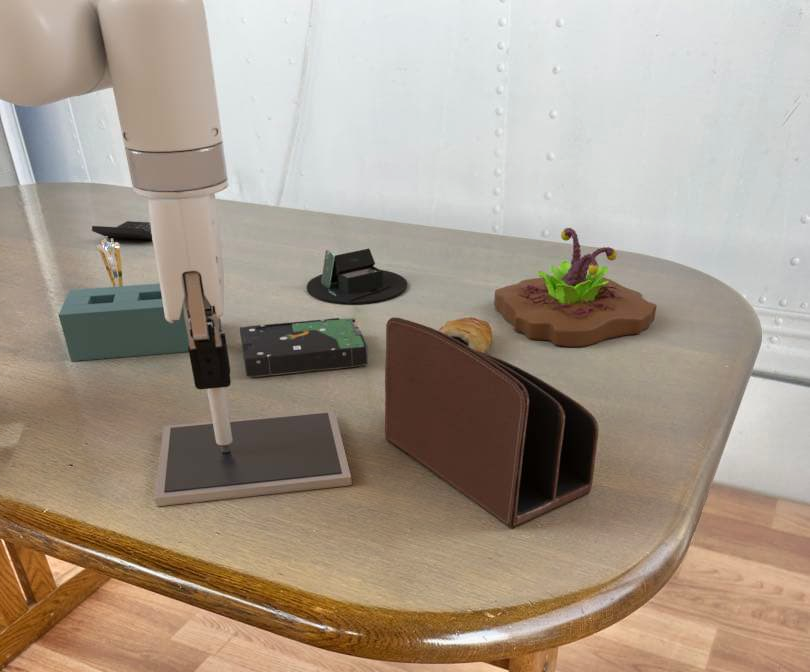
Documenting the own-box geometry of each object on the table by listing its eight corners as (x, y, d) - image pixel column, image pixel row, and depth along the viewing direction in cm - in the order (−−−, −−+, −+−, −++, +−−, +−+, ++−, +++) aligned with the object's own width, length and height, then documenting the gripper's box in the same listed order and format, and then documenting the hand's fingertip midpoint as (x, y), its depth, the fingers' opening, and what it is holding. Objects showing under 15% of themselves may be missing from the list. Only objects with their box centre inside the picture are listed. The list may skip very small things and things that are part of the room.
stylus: (217, 455, 79) (195, 327, 71) (217, 447, 80) (196, 320, 73) (234, 453, 79) (213, 326, 72) (234, 445, 81) (214, 319, 73)
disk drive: (247, 381, 96) (370, 366, 98) (243, 359, 94) (369, 344, 96) (241, 347, 104) (355, 334, 106) (237, 326, 102) (353, 313, 105)
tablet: (156, 507, 74) (154, 496, 73) (165, 434, 85) (163, 424, 85) (352, 485, 77) (351, 475, 76) (335, 417, 88) (334, 408, 87)
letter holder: (510, 531, 70) (523, 381, 62) (383, 440, 83) (379, 307, 75) (592, 494, 75) (614, 350, 67) (459, 413, 88) (463, 285, 80)
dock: (194, 351, 103) (186, 305, 99) (71, 361, 100) (58, 314, 97) (195, 325, 110) (188, 281, 106) (80, 334, 108) (69, 289, 104)
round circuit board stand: (373, 264, 130) (372, 229, 126) (426, 290, 120) (426, 252, 116) (289, 282, 123) (285, 245, 120) (338, 312, 113) (335, 272, 110)
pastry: (453, 330, 107) (454, 302, 105) (502, 337, 105) (505, 308, 103) (429, 357, 100) (429, 328, 98) (481, 366, 98) (483, 336, 96)
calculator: (174, 228, 148) (171, 211, 146) (144, 247, 139) (140, 229, 137) (128, 225, 150) (124, 208, 148) (95, 244, 141) (90, 226, 139)
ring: (133, 301, 118) (121, 244, 113) (110, 304, 117) (97, 247, 112) (126, 286, 123) (114, 232, 118) (104, 289, 122) (91, 234, 117)
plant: (588, 283, 121) (597, 204, 115) (676, 327, 107) (692, 240, 100) (471, 304, 115) (474, 222, 108) (548, 355, 100) (557, 263, 94)
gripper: (137, 151, 70) (176, 351, 81) (120, 195, 58) (168, 424, 69) (225, 147, 71) (251, 345, 82) (226, 189, 59) (257, 416, 70)
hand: (213, 380), depth 75 cm, fingers closed on stylus, 1 cm apart
